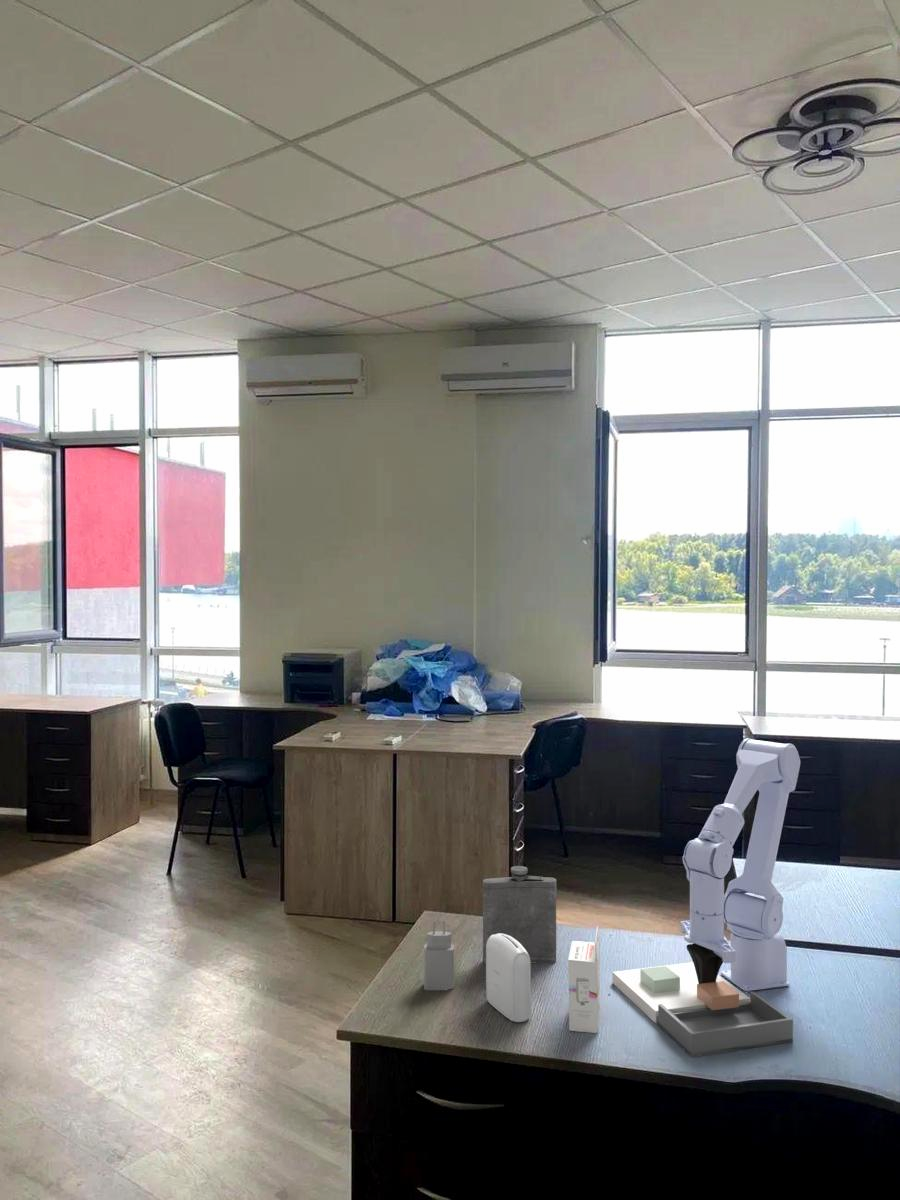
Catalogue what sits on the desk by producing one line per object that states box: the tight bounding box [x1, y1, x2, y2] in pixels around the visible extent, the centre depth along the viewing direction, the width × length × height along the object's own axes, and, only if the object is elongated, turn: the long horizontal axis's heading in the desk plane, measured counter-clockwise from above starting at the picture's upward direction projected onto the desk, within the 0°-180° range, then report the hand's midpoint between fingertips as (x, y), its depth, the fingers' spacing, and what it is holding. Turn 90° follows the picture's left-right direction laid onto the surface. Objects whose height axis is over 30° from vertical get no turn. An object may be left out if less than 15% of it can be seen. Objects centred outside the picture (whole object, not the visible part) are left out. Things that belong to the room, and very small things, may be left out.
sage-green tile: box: [639, 965, 680, 993], centre depth 156 cm, size 5×5×2 cm
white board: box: [612, 961, 750, 1024], centre depth 156 cm, size 18×16×2 cm
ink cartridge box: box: [567, 925, 601, 1034], centre depth 147 cm, size 9×5×15 cm, turn 168°
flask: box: [482, 865, 557, 965], centre depth 171 cm, size 4×14×18 cm, turn 94°
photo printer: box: [485, 933, 532, 1023], centre depth 151 cm, size 10×4×12 cm, turn 26°
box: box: [655, 991, 794, 1058], centre depth 143 cm, size 18×11×4 cm, turn 106°
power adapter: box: [423, 919, 455, 991], centre depth 160 cm, size 3×5×12 cm, turn 91°
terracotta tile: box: [697, 981, 739, 1010], centre depth 149 cm, size 5×5×2 cm
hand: (706, 988), depth 153 cm, fingers closed
